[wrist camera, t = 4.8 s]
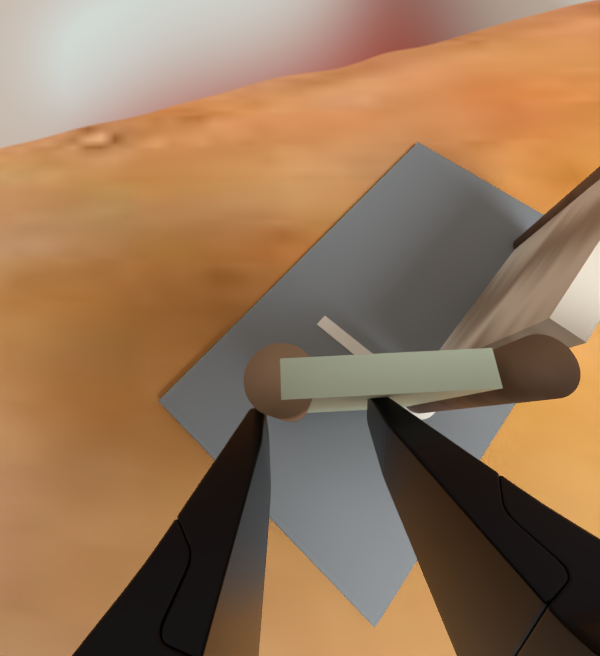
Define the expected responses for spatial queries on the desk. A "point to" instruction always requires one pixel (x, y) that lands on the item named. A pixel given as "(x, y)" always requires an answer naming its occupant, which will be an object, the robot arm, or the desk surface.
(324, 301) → the card
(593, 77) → the desk surface
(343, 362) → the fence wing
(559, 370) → the fence section
